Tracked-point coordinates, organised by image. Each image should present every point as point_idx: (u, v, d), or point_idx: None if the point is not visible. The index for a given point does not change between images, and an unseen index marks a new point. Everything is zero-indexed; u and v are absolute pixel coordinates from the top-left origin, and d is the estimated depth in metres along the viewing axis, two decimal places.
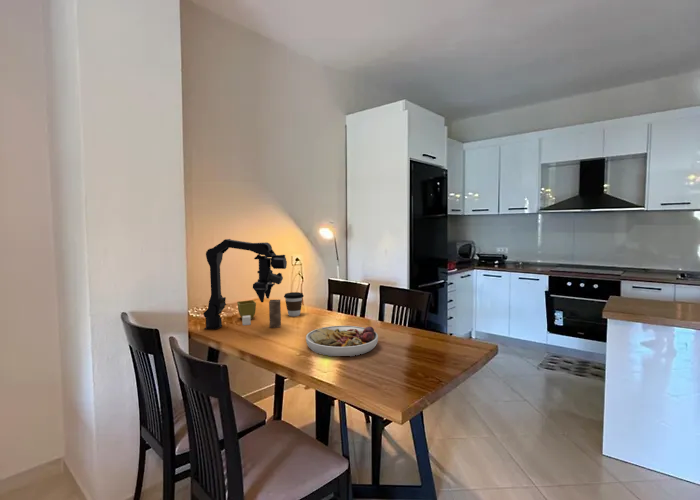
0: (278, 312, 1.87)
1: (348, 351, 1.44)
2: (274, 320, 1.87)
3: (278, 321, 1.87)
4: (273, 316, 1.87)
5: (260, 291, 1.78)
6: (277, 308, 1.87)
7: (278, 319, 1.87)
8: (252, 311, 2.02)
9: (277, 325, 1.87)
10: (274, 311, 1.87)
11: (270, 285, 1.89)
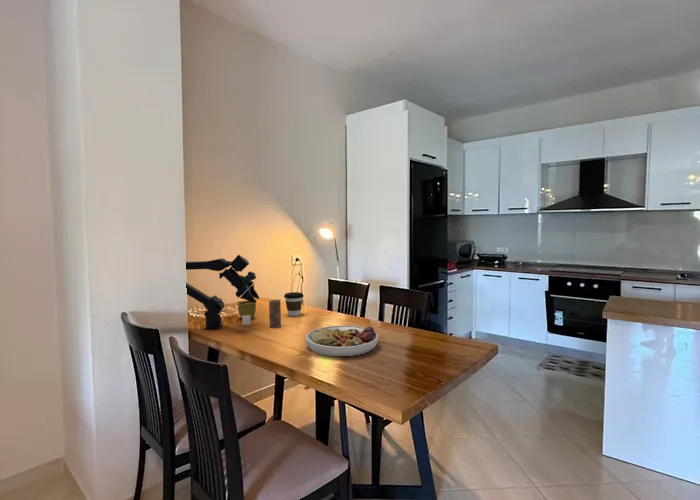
0: (278, 312, 1.87)
1: (348, 351, 1.44)
2: (274, 320, 1.87)
3: (278, 321, 1.87)
4: (273, 316, 1.87)
5: (246, 295, 1.82)
6: (277, 308, 1.87)
7: (278, 319, 1.87)
8: (252, 311, 2.02)
9: (277, 325, 1.87)
10: (274, 311, 1.87)
11: (251, 287, 1.92)
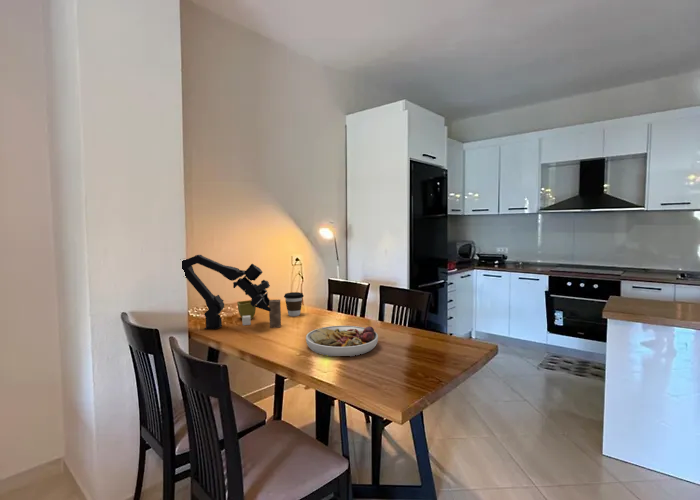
0: (278, 312, 1.87)
1: (348, 351, 1.44)
2: (274, 320, 1.87)
3: (278, 321, 1.87)
4: (273, 316, 1.87)
5: (261, 304, 1.83)
6: (277, 308, 1.87)
7: (278, 319, 1.87)
8: (252, 311, 2.02)
9: (277, 325, 1.87)
10: (274, 311, 1.87)
11: (265, 295, 1.93)
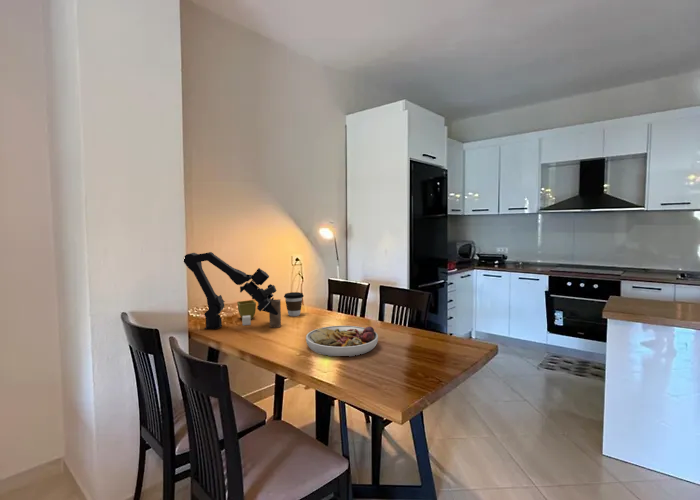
0: (278, 312, 1.87)
1: (348, 351, 1.44)
2: (274, 320, 1.87)
3: (278, 321, 1.87)
4: (273, 316, 1.87)
5: (268, 308, 1.85)
6: (277, 308, 1.87)
7: (278, 319, 1.87)
8: (252, 311, 2.02)
9: (277, 325, 1.87)
10: None
11: None
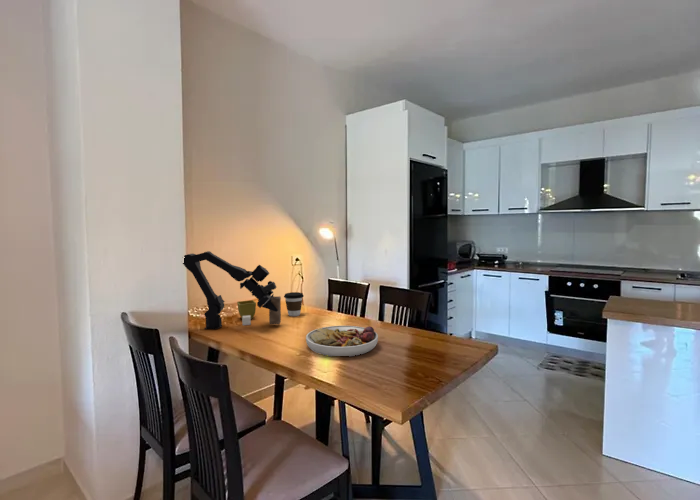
0: (278, 309, 1.87)
1: (348, 351, 1.44)
2: (274, 317, 1.87)
3: (278, 318, 1.87)
4: (273, 312, 1.87)
5: (268, 304, 1.85)
6: (277, 304, 1.86)
7: (278, 316, 1.87)
8: (252, 311, 2.02)
9: (277, 322, 1.87)
10: None
11: None
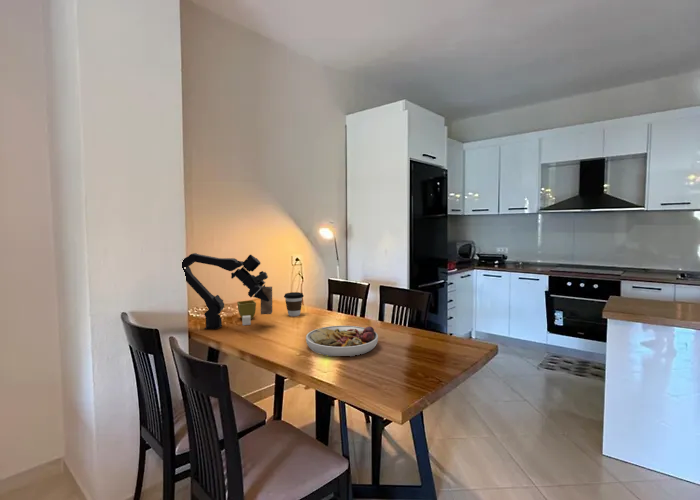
0: (269, 299, 1.86)
1: (348, 351, 1.44)
2: (265, 307, 1.86)
3: (269, 308, 1.86)
4: (264, 302, 1.86)
5: (259, 294, 1.84)
6: (268, 294, 1.86)
7: (269, 306, 1.86)
8: (252, 311, 2.02)
9: (268, 312, 1.86)
10: None
11: None
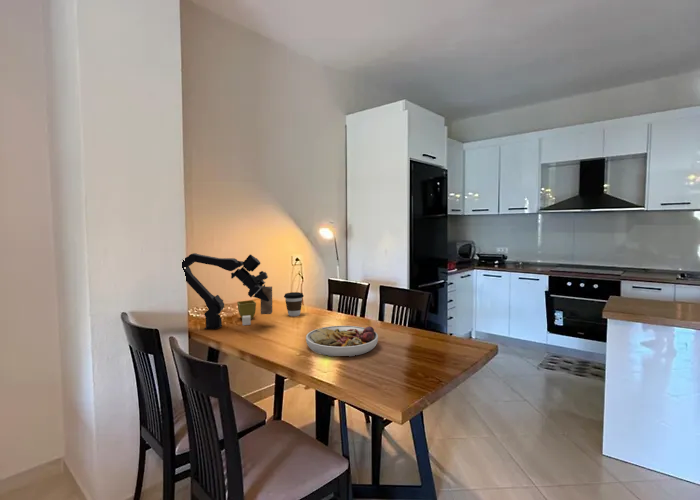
0: (269, 299, 1.86)
1: (348, 351, 1.44)
2: (265, 307, 1.86)
3: (269, 308, 1.86)
4: (264, 302, 1.86)
5: (259, 294, 1.84)
6: (268, 294, 1.86)
7: (269, 306, 1.86)
8: (252, 311, 2.02)
9: (268, 312, 1.86)
10: None
11: (262, 287, 1.91)
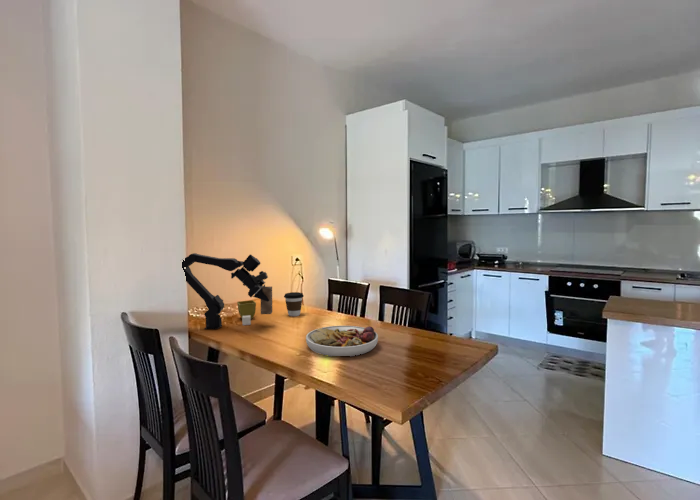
0: (269, 299, 1.86)
1: (348, 351, 1.44)
2: (265, 307, 1.86)
3: (269, 308, 1.86)
4: (264, 302, 1.86)
5: (259, 294, 1.84)
6: (268, 294, 1.86)
7: (269, 306, 1.86)
8: (252, 311, 2.02)
9: (268, 312, 1.86)
10: None
11: (262, 287, 1.91)
